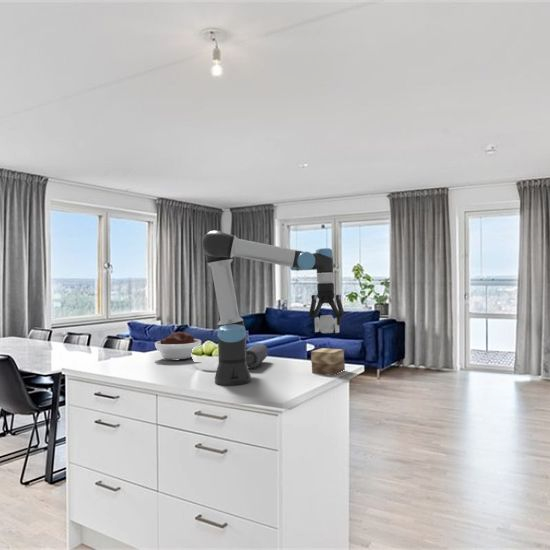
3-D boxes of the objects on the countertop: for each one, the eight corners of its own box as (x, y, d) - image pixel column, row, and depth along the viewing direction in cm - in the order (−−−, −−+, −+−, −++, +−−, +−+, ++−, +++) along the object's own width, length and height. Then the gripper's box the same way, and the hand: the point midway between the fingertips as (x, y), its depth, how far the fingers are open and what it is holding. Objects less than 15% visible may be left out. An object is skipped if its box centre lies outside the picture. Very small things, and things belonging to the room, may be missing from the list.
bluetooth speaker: (251, 361, 252) (251, 342, 252) (269, 361, 250) (268, 342, 250) (239, 370, 230) (239, 349, 230) (259, 370, 228) (258, 349, 228)
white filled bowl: (145, 361, 259) (144, 333, 259) (173, 354, 282) (172, 328, 282) (185, 364, 250) (184, 334, 250) (210, 356, 272) (209, 329, 273)
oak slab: (311, 362, 220) (310, 351, 220) (322, 358, 229) (322, 348, 229) (333, 364, 214) (332, 353, 214) (343, 360, 223) (343, 349, 223)
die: (331, 335, 214) (341, 317, 217) (313, 326, 216) (324, 308, 219) (329, 339, 222) (339, 322, 225) (312, 330, 223) (322, 313, 226)
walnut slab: (312, 373, 219) (311, 362, 219) (323, 369, 229) (323, 358, 229) (334, 375, 213) (334, 364, 213) (344, 371, 223) (344, 360, 223)
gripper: (351, 281, 217) (353, 332, 217) (308, 282, 229) (309, 330, 229) (344, 282, 211) (346, 334, 211) (300, 283, 223) (301, 332, 223)
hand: (327, 332), depth 220 cm, fingers closed on die, 9 cm apart
